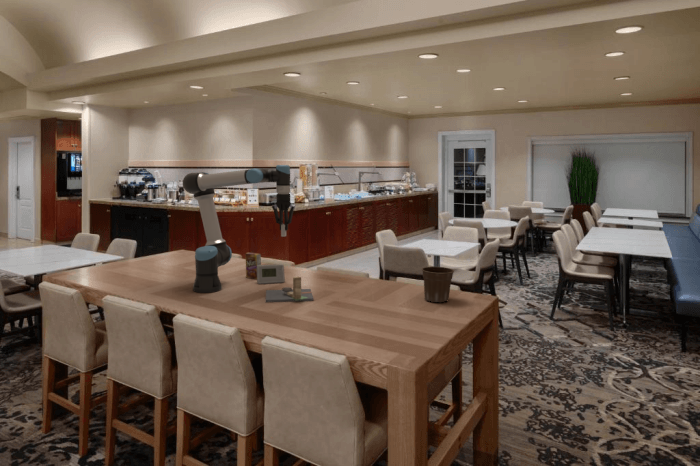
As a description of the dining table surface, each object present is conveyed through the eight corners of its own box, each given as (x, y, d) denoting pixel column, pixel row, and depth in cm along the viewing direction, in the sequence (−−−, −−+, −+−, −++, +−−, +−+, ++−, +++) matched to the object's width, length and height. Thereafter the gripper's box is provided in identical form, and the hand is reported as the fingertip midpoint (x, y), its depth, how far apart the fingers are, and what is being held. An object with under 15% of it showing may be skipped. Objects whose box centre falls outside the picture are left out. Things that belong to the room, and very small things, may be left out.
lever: (280, 293, 259) (280, 273, 258) (289, 291, 262) (288, 271, 261) (294, 299, 247) (294, 278, 246) (302, 298, 250) (302, 277, 249)
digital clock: (256, 284, 284) (255, 266, 283) (257, 281, 293) (257, 263, 292) (284, 284, 286) (284, 266, 284) (285, 280, 295) (285, 263, 293)
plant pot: (448, 296, 262) (450, 266, 260) (456, 304, 246) (457, 272, 244) (418, 296, 262) (419, 266, 260) (424, 304, 246) (424, 272, 244)
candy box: (245, 277, 302) (245, 253, 299) (250, 276, 305) (249, 252, 303) (256, 279, 297) (256, 254, 295) (261, 278, 301) (261, 253, 299)
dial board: (265, 303, 245) (265, 297, 245) (266, 292, 267) (266, 286, 267) (314, 302, 249) (314, 296, 248) (310, 290, 271) (310, 285, 270)
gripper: (269, 193, 267) (269, 236, 271) (292, 194, 264) (292, 237, 267) (274, 192, 275) (275, 234, 278) (297, 193, 271) (297, 235, 275)
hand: (283, 236), depth 273 cm, fingers closed
